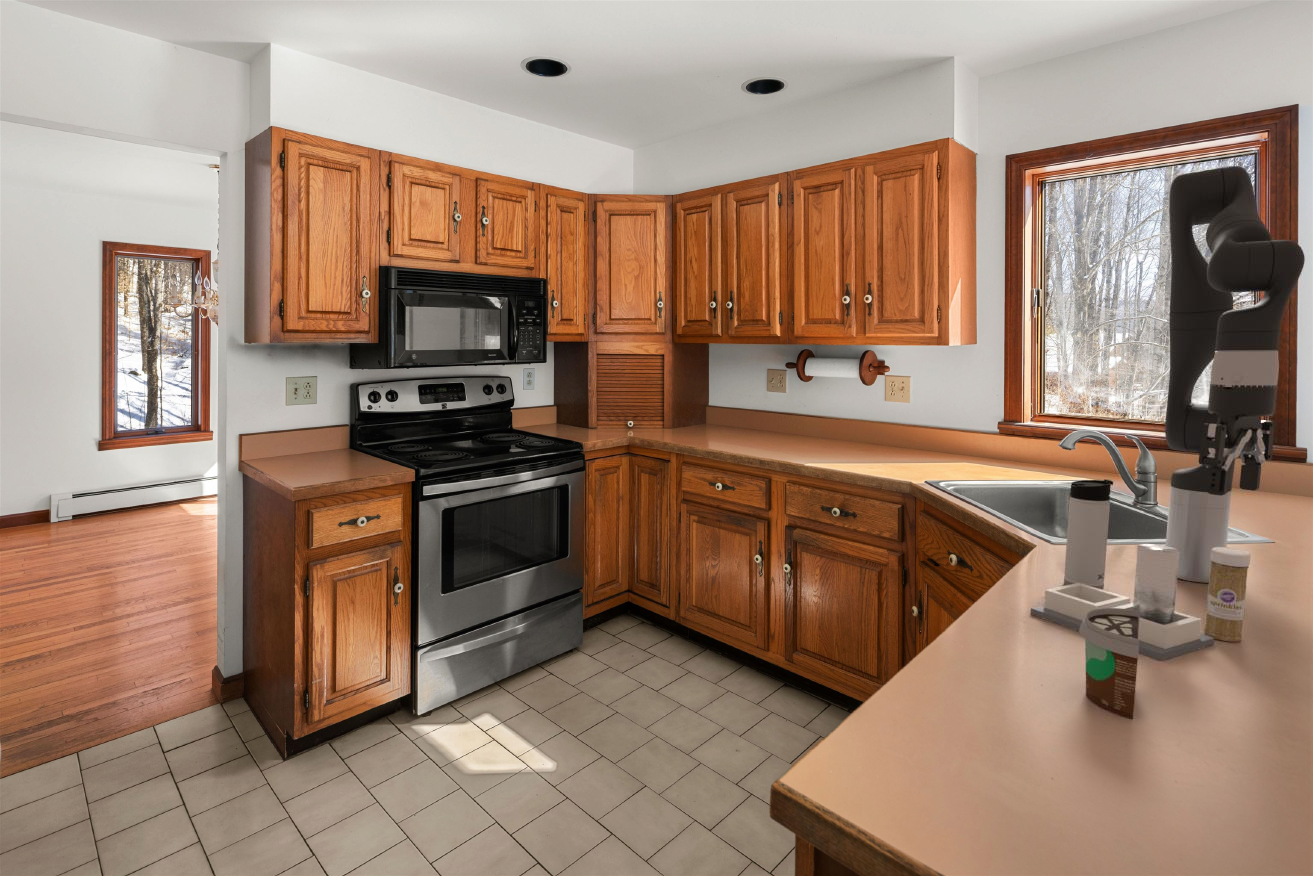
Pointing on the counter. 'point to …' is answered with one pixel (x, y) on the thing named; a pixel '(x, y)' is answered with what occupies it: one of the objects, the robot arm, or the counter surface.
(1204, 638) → the grey and white holder
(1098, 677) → the food container
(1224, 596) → the sprinkles bottle
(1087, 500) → the travel mug
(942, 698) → the counter surface
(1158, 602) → the cylinder
